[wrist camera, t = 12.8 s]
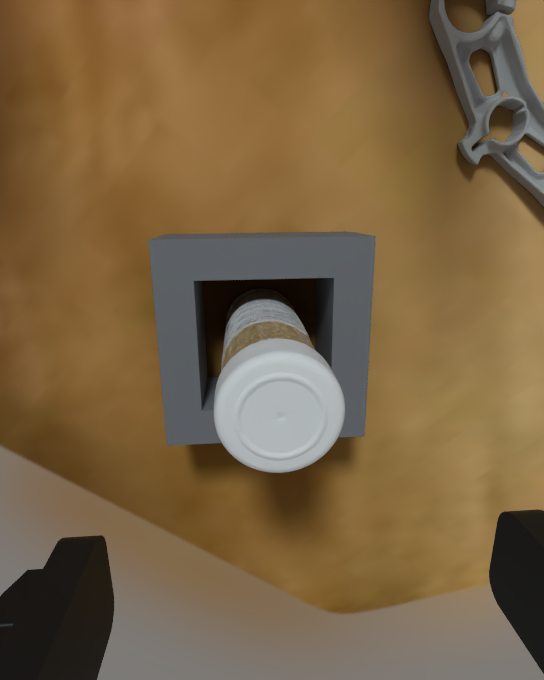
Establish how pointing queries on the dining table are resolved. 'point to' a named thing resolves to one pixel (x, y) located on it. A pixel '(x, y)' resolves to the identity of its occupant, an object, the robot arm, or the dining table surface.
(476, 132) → the bracket
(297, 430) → the sprinkles bottle
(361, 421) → the well
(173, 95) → the dining table surface
